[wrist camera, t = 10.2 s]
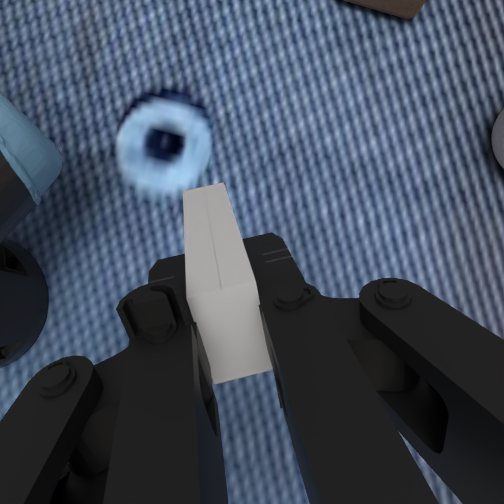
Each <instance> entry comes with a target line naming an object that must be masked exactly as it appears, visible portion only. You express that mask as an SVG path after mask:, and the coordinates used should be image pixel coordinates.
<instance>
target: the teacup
mask: <svg viewBox="0 0 504 504" xmlns="http://www.w3.org/2000/svg"><path fill="white" fill-rule="evenodd" d="M492 147H493V152H494V154H495V157H496V159H497V161H498V162H499V164H500V165H501V166H502V168H503V169H504V109H503V110H502V111H501V112H500V114H499V115H498V117H497V119H496V121H495V124H494V126H493V130H492Z"/></svg>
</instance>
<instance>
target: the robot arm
mask: <svg viewBox="0 0 504 504" xmlns="http://www.w3.org/2000/svg"><path fill="white" fill-rule="evenodd" d="M61 169H62V156H61V154H60V151H59V149H58V148H57V147H56V145H55V144H54V143H53V142H52V141H51V140H50V139H49V138H48V137H47V136H46V135H45V134H43V133H42V132H41V131H40V130H39V129H38V128H37V127H36V126H35V125H34V124H33V123H32V122H31V121H30V120H29V119H28V118H27V117H26V116H25V115H24V114H23V113H22V112H20V111H19V110H18V109H17V108H16V107H15V106H14V105H13V104H12V103H11V102H10V101H9V100H8V99H7V98H6V97H5V96H4V95H3V94H1V93H0V368H1V367H4V366H6V365H8V364H10V363H12V362H13V361H15V360H17V359H18V358H19V357H21V356H22V355H23V354H24V353H25V352H26V351H27V350H28V349H29V348H30V347H31V346H32V345H33V343H34V342H35V341H36V339H37V338H38V336H39V334H40V332H41V330H42V328H43V325H44V323H45V319H46V315H47V310H48V290H47V285H46V281H45V278H44V275H43V273H42V271H41V269H40V267H39V265H38V264H37V262H36V261H35V259H34V258H33V257H32V256H31V255H30V254H29V253H28V252H27V251H26V250H25V249H24V248H22V247H21V246H19V245H18V244H16V243H14V242H12V241H10V240H8V239H5V238H6V237H7V236H8V235H9V234H10V232H11V231H12V230H13V229H14V228H15V227H16V226H17V225H18V224H19V223H20V222H21V220H22V219H23V218H24V217H25V216H26V215H27V214H28V213H29V212H30V211H31V210H32V209H33V207H34V206H38V205H39V204H40V203H39V202H41V196H42V195H43V194H44V193H45V192H46V190H47V189H48V188H49V187H50V185H51V184H52V183H53V182H54V180H55V179H56V178H57V177H58V175H59V174H60V171H61ZM183 205H184V238H185V254H182V255H178V256H173V257H169V258H165V259H160V260H157V262H156V263H155V264H154V266H153V267H152V268H151V269H150V271H149V279H148V284H146V285H144V286H141V287H138V288H137V289H135V290H133V291H131V292H130V293H128V294H127V295H126V296H125V297H124V298H123V299H122V300H121V301H120V302H119V304H118V306H117V308H116V310H117V312H118V314H119V316H120V319H121V321H122V323H123V325H124V327H125V330H126V332H127V334H128V336H129V339H130V341H129V346H128V347H127V348H126V349H124V350H123V351H122V352H120V353H118V354H116V355H115V356H113V357H111V358H109V359H106V360H104V361H102V362H100V363H98V364H96V365H94V366H93V364H92V362H91V361H90V360H89V359H87V358H86V357H84V356H70V357H65V358H61V359H59V360H57V361H55V362H53V363H51V364H49V365H47V366H46V367H44V368H43V369H42V370H40V371H39V372H38V373H36V374H35V376H34V377H33V378H32V379H31V380H30V381H29V382H28V383H27V385H26V386H25V387H24V389H23V390H22V392H21V393H20V395H19V396H18V397H17V399H16V400H15V402H14V403H13V405H12V406H11V407H10V409H9V410H8V412H7V413H6V414H5V416H4V417H3V419H2V420H1V422H0V504H228V495H227V486H226V477H225V468H224V459H223V450H222V441H221V432H220V423H219V414H218V405H217V401H216V398H215V395H214V392H213V388H212V379H213V382H214V385H215V384H218V383H222V382H226V381H230V380H234V379H238V378H242V377H246V376H250V375H254V374H258V373H261V372H265V371H269V370H273V371H274V376H275V381H276V386H277V391H278V396H279V401H280V407H281V408H283V411H284V415H285V418H286V422H287V425H288V429H289V432H290V436H291V440H292V443H293V447H294V450H295V454H296V457H297V461H298V464H299V468H300V471H301V475H302V478H303V482H304V485H305V489H306V492H307V496H308V500H309V503H310V504H439V503H438V501H437V499H436V497H435V496H434V494H433V492H432V490H431V489H430V487H429V485H428V483H427V481H426V480H425V478H424V476H423V474H422V473H421V471H420V469H419V467H418V466H417V464H416V462H415V460H414V458H413V457H412V455H411V453H410V451H409V450H408V448H407V446H406V444H405V443H404V441H403V439H402V437H401V435H400V434H399V432H400V433H401V434H402V435H403V437H404V438H405V439H406V440H407V441H408V442H409V443H410V444H411V446H412V447H413V448H414V449H415V450H416V451H417V452H418V453H419V455H420V456H421V457H422V458H423V459H424V460H425V461H426V463H427V464H428V465H429V466H430V467H431V468H432V469H433V470H434V472H435V473H436V474H437V475H438V476H439V477H440V478H441V479H442V481H443V482H444V483H445V484H446V485H447V486H448V487H449V488H450V490H451V491H452V492H453V493H454V494H455V495H456V496H457V497H458V499H459V500H460V501H461V502H462V503H463V504H504V340H503V339H501V338H500V337H498V336H497V335H495V334H494V333H492V332H490V331H489V330H487V329H486V328H484V327H483V326H481V325H479V324H478V323H476V322H475V321H473V320H472V319H470V318H469V317H467V316H465V315H464V314H462V313H461V312H459V311H458V310H456V309H454V308H453V307H451V306H450V305H448V304H447V303H445V302H444V301H442V300H440V299H439V298H437V297H436V296H434V295H433V294H431V293H429V292H428V291H426V290H425V289H423V288H422V287H420V286H419V285H416V284H414V283H412V282H410V281H408V280H403V279H398V278H382V279H378V280H374V281H371V282H370V283H368V284H366V285H365V286H363V288H362V290H361V291H360V293H359V298H330V297H326V296H322V295H321V294H320V292H319V291H318V290H317V289H316V288H315V287H314V286H312V285H309V284H307V283H306V282H305V280H304V278H303V276H302V274H301V272H300V270H299V269H298V267H297V265H296V263H295V261H294V259H293V257H292V256H291V254H290V252H289V250H288V249H287V246H286V244H285V242H284V241H283V239H282V238H280V237H279V236H277V235H275V234H273V233H268V234H263V235H259V236H255V237H250V238H246V239H242V238H241V235H240V232H239V228H238V225H237V222H236V219H235V216H234V213H233V210H232V207H231V204H230V201H229V198H228V195H227V192H226V189H225V186H224V183H219V184H214V185H210V186H205V187H201V188H196V189H192V190H187V191H183ZM211 376H212V378H211ZM398 431H399V432H398Z"/></svg>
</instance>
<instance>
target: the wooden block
mask: <svg viewBox="0 0 504 504" xmlns="http://www.w3.org/2000/svg"><path fill="white" fill-rule="evenodd" d="M344 1H347V2H350V3H354V4H357V5H360V6H364V7H367V8H371V9H374V10H377V11H381V12H384V13H387V14H391V15H394V16H398V17H401V18H404V19H412V18H413V17H415V15H416V14H417V13H418V12H419V11H420V9H421V7H422V6H423V4H424V2H425V1H426V0H344Z"/></svg>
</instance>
